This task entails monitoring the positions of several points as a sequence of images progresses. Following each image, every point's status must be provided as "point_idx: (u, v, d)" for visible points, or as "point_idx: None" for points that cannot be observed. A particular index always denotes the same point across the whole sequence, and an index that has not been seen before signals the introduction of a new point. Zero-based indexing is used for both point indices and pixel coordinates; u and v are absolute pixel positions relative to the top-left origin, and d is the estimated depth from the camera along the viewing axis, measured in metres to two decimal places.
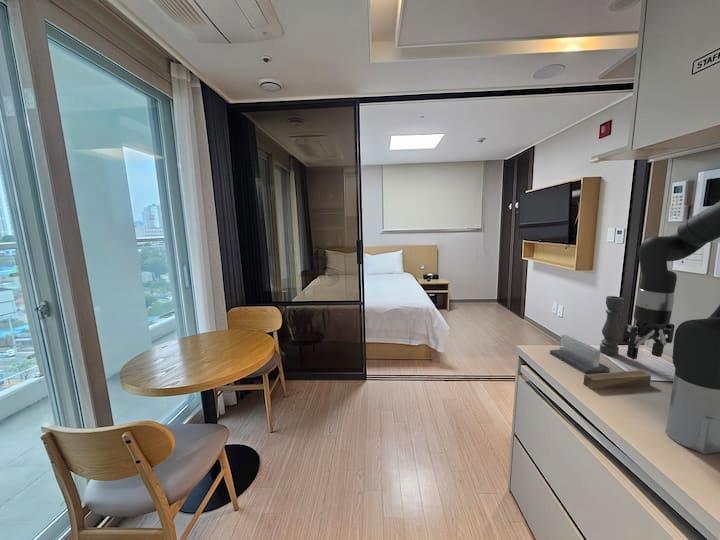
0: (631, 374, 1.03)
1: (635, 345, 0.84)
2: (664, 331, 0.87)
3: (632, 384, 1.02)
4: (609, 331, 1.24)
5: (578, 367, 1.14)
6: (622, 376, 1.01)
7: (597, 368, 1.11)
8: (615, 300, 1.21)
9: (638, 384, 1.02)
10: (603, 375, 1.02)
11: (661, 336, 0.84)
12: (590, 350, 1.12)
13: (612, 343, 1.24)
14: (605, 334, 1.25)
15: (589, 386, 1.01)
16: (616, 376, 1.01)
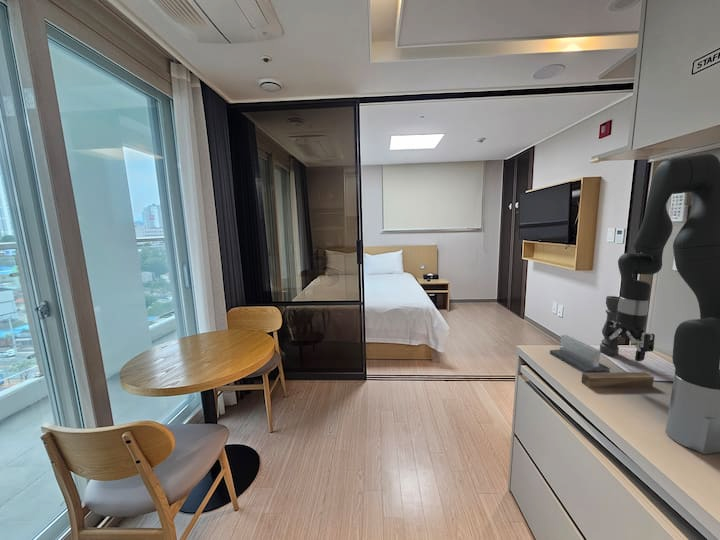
0: (633, 375, 1.02)
1: None
2: (611, 328, 1.06)
3: (633, 385, 1.01)
4: None
5: (578, 367, 1.14)
6: (622, 376, 1.01)
7: (597, 368, 1.11)
8: (615, 300, 1.21)
9: (639, 385, 1.01)
10: (602, 374, 1.03)
11: None
12: (590, 350, 1.12)
13: None
14: None
15: (586, 384, 1.03)
16: (616, 376, 1.02)
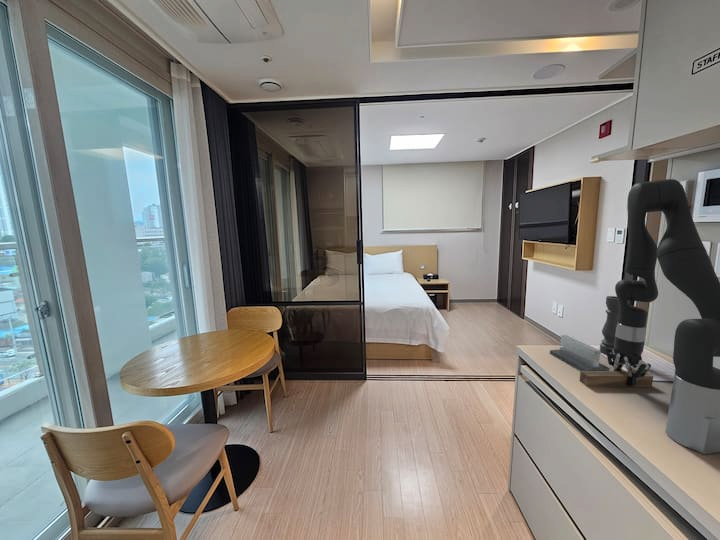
0: None
1: None
2: (612, 356, 1.07)
3: None
4: (609, 331, 1.24)
5: (578, 367, 1.14)
6: (620, 375, 1.02)
7: (597, 368, 1.11)
8: (615, 300, 1.21)
9: (638, 384, 1.02)
10: (600, 373, 1.04)
11: None
12: (590, 350, 1.12)
13: (612, 343, 1.24)
14: (605, 334, 1.25)
15: (584, 382, 1.03)
16: (614, 374, 1.02)
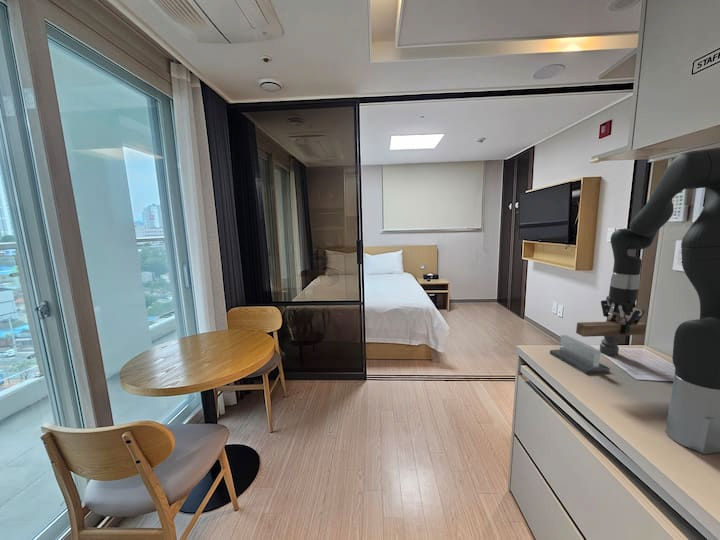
0: None
1: None
2: (607, 307, 1.08)
3: None
4: None
5: (578, 367, 1.14)
6: (615, 324, 1.03)
7: (597, 368, 1.11)
8: None
9: (632, 332, 1.03)
10: (596, 323, 1.05)
11: None
12: (590, 350, 1.12)
13: (612, 343, 1.24)
14: None
15: (581, 333, 1.04)
16: (609, 324, 1.03)
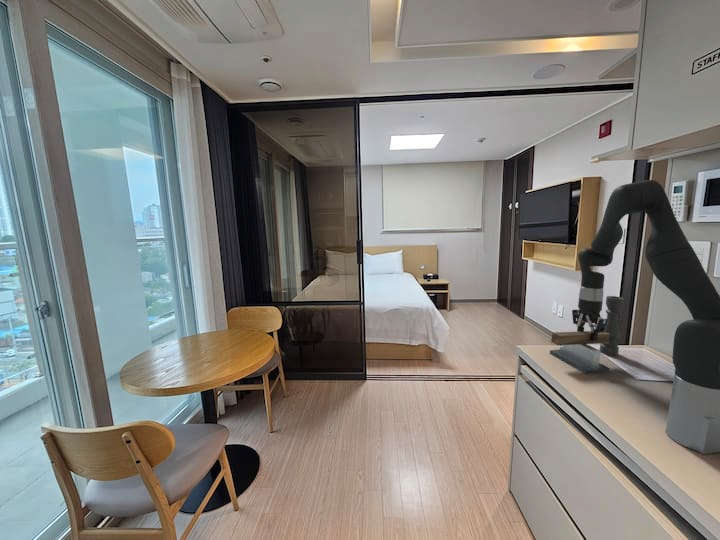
0: None
1: None
2: (576, 316, 1.22)
3: (593, 341, 1.17)
4: (609, 331, 1.24)
5: (578, 367, 1.14)
6: (584, 334, 1.17)
7: (597, 368, 1.11)
8: (615, 300, 1.21)
9: (598, 341, 1.17)
10: (568, 333, 1.18)
11: None
12: (590, 350, 1.12)
13: (612, 343, 1.24)
14: None
15: (556, 342, 1.17)
16: (580, 334, 1.17)
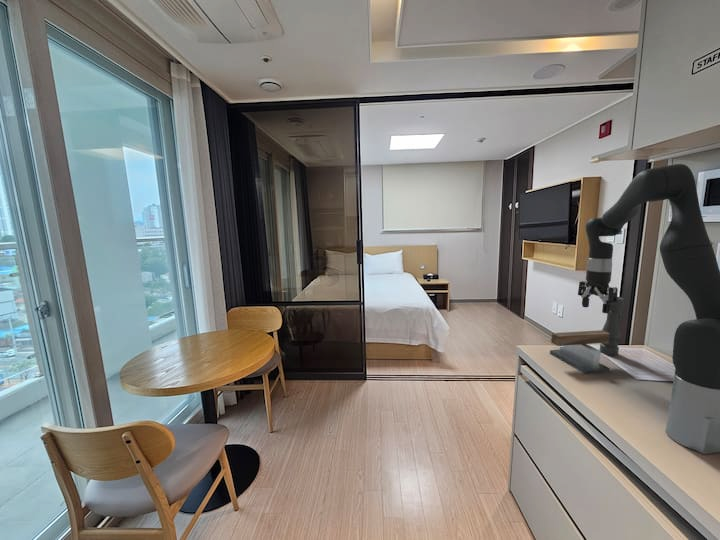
0: (593, 332, 1.18)
1: None
2: (583, 288, 1.20)
3: (593, 341, 1.17)
4: (609, 331, 1.24)
5: (578, 367, 1.14)
6: (584, 334, 1.17)
7: (597, 368, 1.11)
8: None
9: (598, 341, 1.17)
10: (568, 333, 1.18)
11: None
12: (590, 350, 1.12)
13: (612, 343, 1.24)
14: None
15: (555, 342, 1.17)
16: (579, 334, 1.17)
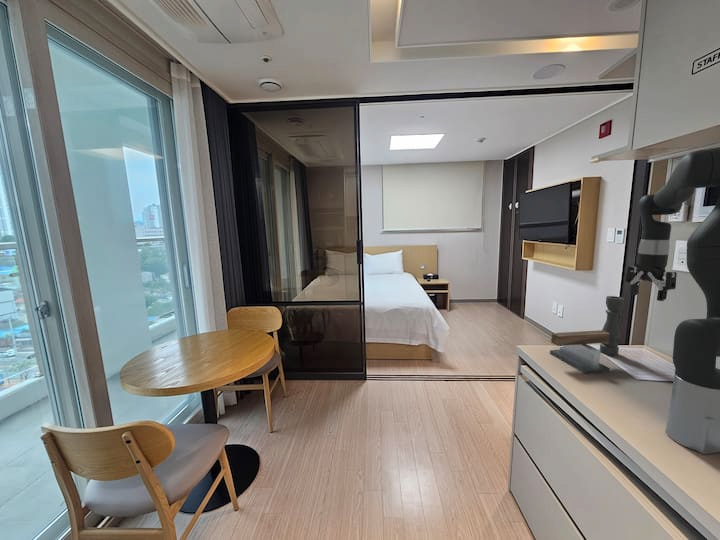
0: (593, 332, 1.18)
1: None
2: (632, 274, 1.08)
3: (593, 341, 1.17)
4: (609, 331, 1.24)
5: (578, 367, 1.14)
6: (584, 334, 1.17)
7: (597, 368, 1.11)
8: (615, 300, 1.21)
9: (598, 341, 1.17)
10: (568, 333, 1.18)
11: None
12: (590, 350, 1.12)
13: (612, 343, 1.24)
14: None
15: (555, 342, 1.17)
16: (579, 334, 1.17)
